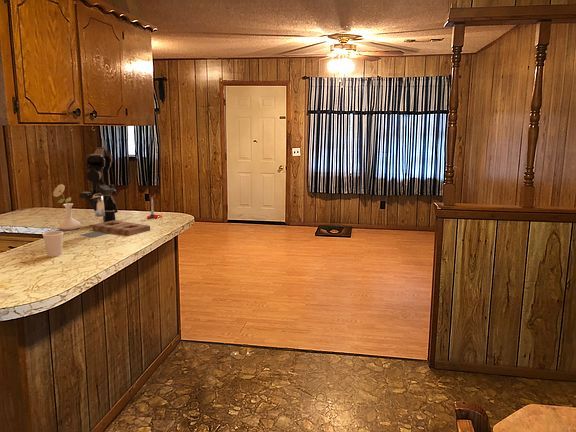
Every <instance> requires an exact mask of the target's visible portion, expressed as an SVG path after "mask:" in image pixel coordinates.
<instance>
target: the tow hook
mask: <svg viewBox="0 0 576 432" xmlns="http://www.w3.org/2000/svg"><path fill="white" fill-rule="evenodd" d="M153 198H154V197H151V201H150V207H151V209H150V215H147V216H146V219H151V218H158V219H159V218H160V217H161V218H163V214H155V211H154V199H153Z"/></svg>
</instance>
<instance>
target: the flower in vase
mask: <svg viewBox="0 0 576 432" xmlns="http://www.w3.org/2000/svg"><path fill="white" fill-rule="evenodd" d="M65 187H66V186H65V185H64V184H63V183H60V184H58V185H57V186H56V187H55V188H54V190H53V192H52V196H53V197H56V198H57V197H59V196H61V195H62V197H63V198H60V199H59V200H58V201H57V203H58V204H62V203H64V202H65V203H64V204H63V206H64V208H65V212H66V218H65V219H64V220H63V221H62V222H61V223H60V224H59V225H58V228H59V229H60V230H65V231H69V230H70V231H71V230H76V229H79V228H81V227H82V224H81V222H80V221H78V220H76V219H75V218H73V215H72V207H73V206H74V203H71V201H72V197H71V196H69V197H67V198H66V199H65V196H64V194H63V193H64V192H65Z"/></svg>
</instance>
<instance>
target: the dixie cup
mask: <svg viewBox="0 0 576 432" xmlns="http://www.w3.org/2000/svg"><path fill="white" fill-rule="evenodd" d="M41 235H42V236H43V237H42V238H43V241H44V245H45V246H44V247H45V250H46V254H47V257H49V256H50V258H55V256H57V257H61V256H63V242H64V239H63V238H64V231H62V230H49V231H45V232H43V233H42V234H41ZM60 255H61V256H60Z"/></svg>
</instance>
